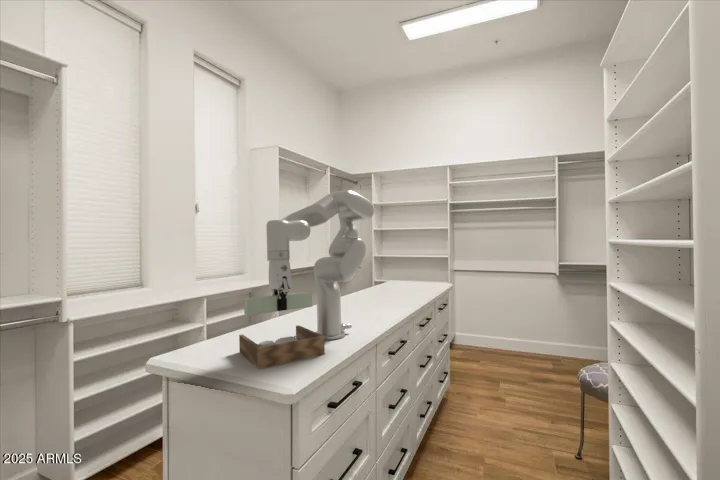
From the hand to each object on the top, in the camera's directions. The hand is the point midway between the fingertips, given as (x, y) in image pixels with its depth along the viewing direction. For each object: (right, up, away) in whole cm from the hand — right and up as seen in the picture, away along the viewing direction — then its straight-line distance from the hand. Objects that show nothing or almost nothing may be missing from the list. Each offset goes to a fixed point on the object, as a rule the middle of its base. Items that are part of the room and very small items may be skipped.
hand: (279, 308), depth 120 cm
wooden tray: (0, -15, 0) cm, 15 cm away
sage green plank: (0, 0, 0) cm, 0 cm away
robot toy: (-1, -15, -1) cm, 15 cm away
